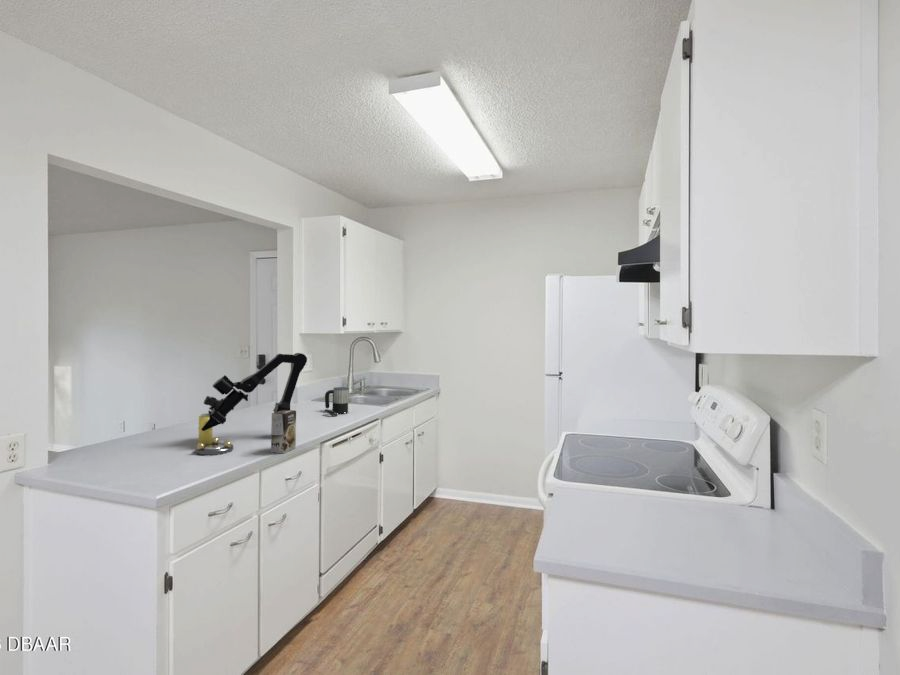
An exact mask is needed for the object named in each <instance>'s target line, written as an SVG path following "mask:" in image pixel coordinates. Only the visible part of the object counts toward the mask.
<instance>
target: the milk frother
mask: <svg viewBox="0 0 900 675" xmlns="http://www.w3.org/2000/svg"><path fill="white" fill-rule="evenodd" d="M349 389H350V388H349V387H346V386H342V387H341V386H338V387H337V386H336V387H333V388H332V389H329V390H327V391H326V392H325V393H324V403H325V404H324V405H325V409H324V412H325V413H327V414H329V415H330V416H332V415H333V416H338V414H337V413H344V412H348V413H349ZM331 394H332V407H331V408H332V410H330V395H331Z"/></svg>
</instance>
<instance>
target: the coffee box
mask: <svg viewBox="0 0 900 675" xmlns="http://www.w3.org/2000/svg"><path fill="white" fill-rule="evenodd" d="M270 428H271V429H270V430H271V435H270V440H271V441H270V442H271V443H270V444H271V445H270V453H274V452H275V453H277V454H286V453H288V452H290V451H292V450H295V449H296V448H297V447H296V446H297V445H296V444H297V438H296V436H297V410H295V409H294V410H293V409H292V410H291V409H290V410H282V411H278V412H275V413H274V412H272V413H271V427H270Z"/></svg>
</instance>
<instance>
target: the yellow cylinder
mask: <svg viewBox="0 0 900 675" xmlns="http://www.w3.org/2000/svg"><path fill="white" fill-rule="evenodd" d="M208 420H209V413H202V414H200V415H199V416H198V444H199V443H204V445H205V444H211V443H212V438H213V427H212V428H209V429H207V430H205V431H202V430H201V429H202V428H203V426H204V425H205V424H206V422H207V421H208Z"/></svg>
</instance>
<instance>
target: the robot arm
mask: <svg viewBox="0 0 900 675" xmlns="http://www.w3.org/2000/svg"><path fill="white" fill-rule="evenodd" d="M307 361H308V357H307V356H306V354H304V353H301V352H295V353H293V354H289V353H288V354H284V353H277V354H276V355H275V356H274V357H273V358H272V359H271V360H269V361H268V362H267V363H266V364H264V365H263V366H262V367H261V368H260V369H259V370H257V371H255V373H252V374H250V375H249V376H246V377H245V378H243V379H242V380H241V381H236V382H233V381H231V379H230V378H229V377H228V376H227V375H225V374H224V375H223V376H222V377H220V378H219V379H217V380H216V381H215V382H214V383H213V384H212V388H214V389H215V390H216V391H217V392H218V393H220V394H221V395H226V396H225V397H224V398H221V399H220V400H219V399H217V398H216V397H214V396H208V395H206V397H205V398H204V401H203V405H206V406H209V408H208V409H209V410H207V411H208V414H209V420H208V421H207V422H206V424H205V425H204V426H203V428H202V429H201V430H202V431H205V430H207V429H209V428H212V429H213V428H215V427H217V426H219V425H221V424H222V425H224V424H225V422H227V415H228V414H230V412H231V411H233V410H235V407H236V406H237V405H238V404H239V403H240V402H241V401H242V400H243V399H244V401H246V402H248V401H249V398H248V397H249V394H250V393H252V392H254V390H255V389H256V388H257V387H258V386H259V384H260V383H261V381H262V380H263V379H265V378H266V377H267V376H269V374H270V373H272V372H273V371H274V370H275V369H277V367H279V366H280V365H282V364H284V363H286V364H290V372H289V376H288V377H287V381H286V383H285V387H284V390H283V392H282V395H281V399H280V400H279V402H278V401H277V402H275V404H274V409H273V410H272V411H273V413H275V412H278V411H282V410H291V402H292V400H293V396H294V392H295V389H296V387H297V383H298V379H299V377H300V374H301V372H302V371H303V370H304V368H305V366H306V364H307ZM245 393H247V394H245ZM248 393H249V394H248Z"/></svg>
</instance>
